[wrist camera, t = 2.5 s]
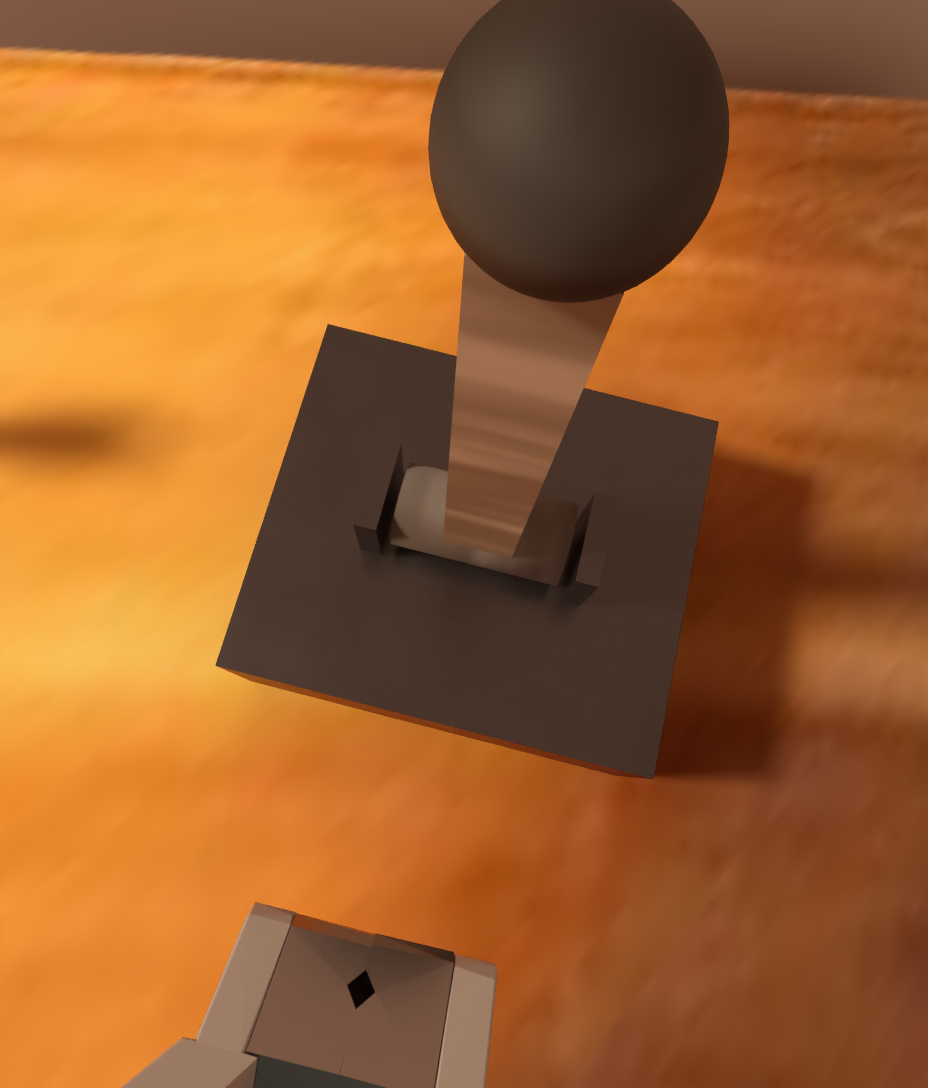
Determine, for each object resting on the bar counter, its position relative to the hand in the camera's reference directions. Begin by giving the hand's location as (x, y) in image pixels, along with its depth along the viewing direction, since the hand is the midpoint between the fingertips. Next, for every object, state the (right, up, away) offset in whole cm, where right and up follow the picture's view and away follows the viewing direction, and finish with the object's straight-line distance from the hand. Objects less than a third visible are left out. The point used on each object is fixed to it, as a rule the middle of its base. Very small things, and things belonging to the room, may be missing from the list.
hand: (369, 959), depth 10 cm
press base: (+1, +4, +27) cm, 27 cm away
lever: (+2, +5, +21) cm, 21 cm away
